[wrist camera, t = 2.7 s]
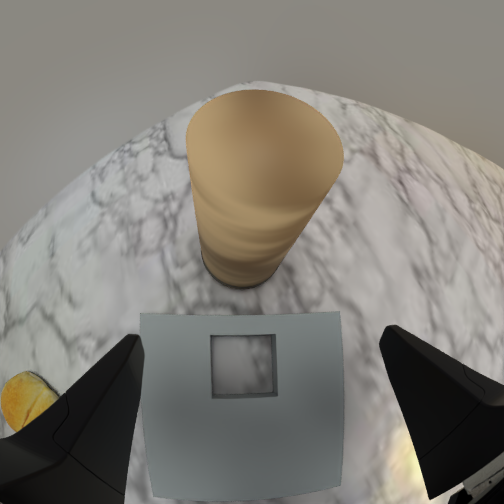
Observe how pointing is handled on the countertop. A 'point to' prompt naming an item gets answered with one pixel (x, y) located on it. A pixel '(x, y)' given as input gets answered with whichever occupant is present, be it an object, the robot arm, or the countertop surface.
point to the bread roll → (25, 399)
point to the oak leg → (257, 179)
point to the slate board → (242, 409)
